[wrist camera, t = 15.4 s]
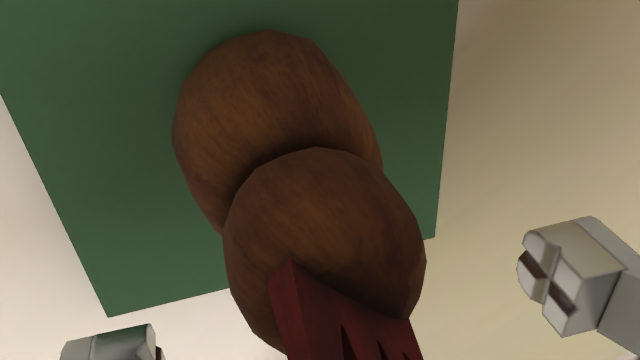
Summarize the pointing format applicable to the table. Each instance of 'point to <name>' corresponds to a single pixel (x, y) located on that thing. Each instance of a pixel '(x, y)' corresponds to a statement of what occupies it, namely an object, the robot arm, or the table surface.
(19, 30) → the mat
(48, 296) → the table surface
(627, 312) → the robot arm
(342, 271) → the wooden figurine
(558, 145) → the table surface
